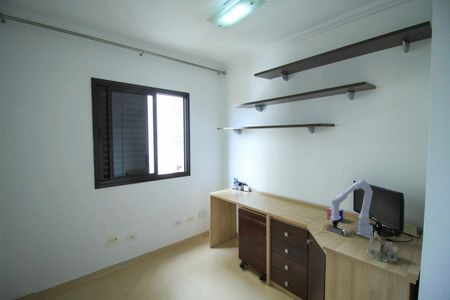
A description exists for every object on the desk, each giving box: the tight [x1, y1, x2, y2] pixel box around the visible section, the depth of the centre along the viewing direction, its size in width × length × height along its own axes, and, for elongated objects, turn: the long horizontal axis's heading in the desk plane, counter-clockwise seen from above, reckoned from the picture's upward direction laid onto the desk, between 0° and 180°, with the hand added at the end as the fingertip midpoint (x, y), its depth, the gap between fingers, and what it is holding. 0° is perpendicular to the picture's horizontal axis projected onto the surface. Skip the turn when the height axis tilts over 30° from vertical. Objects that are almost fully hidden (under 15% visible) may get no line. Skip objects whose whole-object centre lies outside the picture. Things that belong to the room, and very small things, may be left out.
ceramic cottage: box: [365, 230, 399, 261], centre depth 139 cm, size 16×16×15 cm
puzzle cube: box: [326, 207, 344, 222], centre depth 204 cm, size 10×10×10 cm
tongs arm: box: [326, 223, 344, 231], centre depth 178 cm, size 15×2×4 cm, turn 27°
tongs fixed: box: [323, 224, 348, 237], centre depth 176 cm, size 18×3×4 cm, turn 36°
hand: (335, 228), depth 180 cm, fingers closed
